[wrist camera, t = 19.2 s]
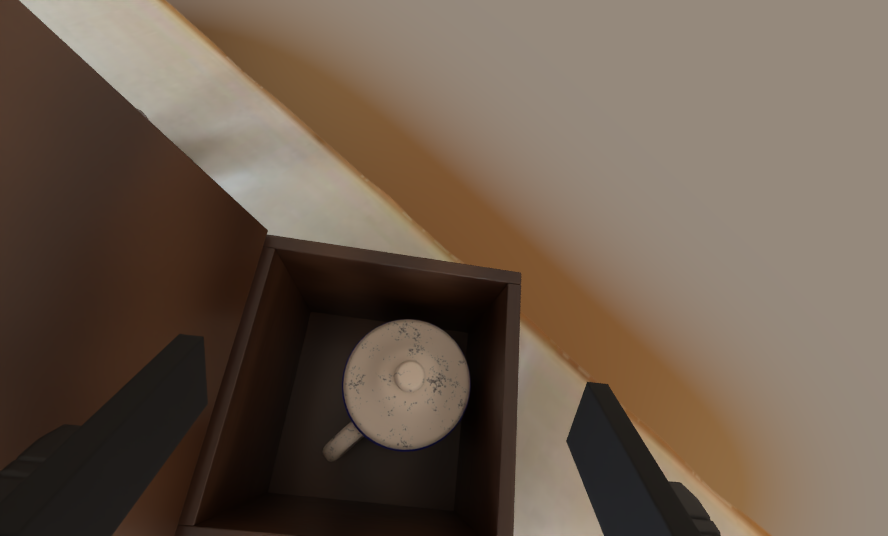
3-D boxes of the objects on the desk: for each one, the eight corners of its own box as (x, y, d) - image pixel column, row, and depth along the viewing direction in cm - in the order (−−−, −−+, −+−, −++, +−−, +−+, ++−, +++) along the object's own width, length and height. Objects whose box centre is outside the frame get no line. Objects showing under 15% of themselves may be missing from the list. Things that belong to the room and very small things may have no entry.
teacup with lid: (408, 323, 40) (417, 280, 29) (473, 398, 38) (508, 381, 27) (301, 412, 35) (265, 400, 25) (368, 500, 34) (361, 529, 23)
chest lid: (-121, -131, 10) (-147, -127, 10) (-1504, 1022, 3) (-1519, 986, 3) (268, 230, 26) (256, 230, 26) (170, 549, 19) (155, 546, 19)
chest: (475, 327, 41) (521, 272, 28) (461, 522, 35) (512, 575, 21) (305, 304, 40) (264, 233, 26) (256, 502, 33) (167, 546, 20)
